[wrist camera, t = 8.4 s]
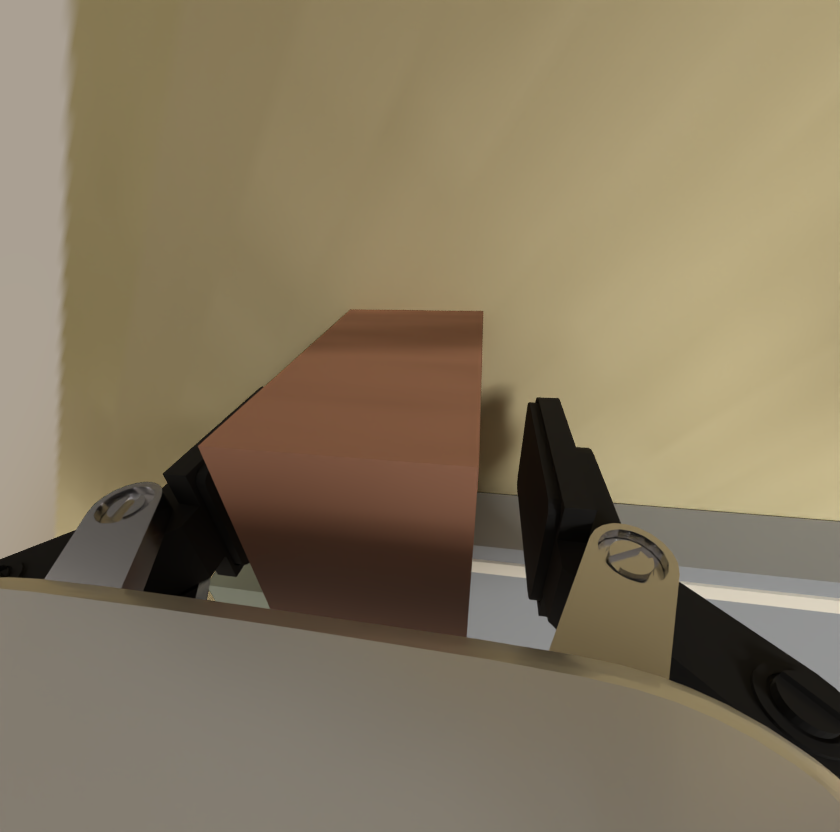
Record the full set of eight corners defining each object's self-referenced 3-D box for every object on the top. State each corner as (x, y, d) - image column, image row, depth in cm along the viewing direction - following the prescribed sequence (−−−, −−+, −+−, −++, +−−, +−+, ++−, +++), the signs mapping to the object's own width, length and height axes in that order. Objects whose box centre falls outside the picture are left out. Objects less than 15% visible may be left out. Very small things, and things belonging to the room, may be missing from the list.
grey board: (282, 476, 15) (206, 584, 11) (897, 526, 12) (1116, 707, 8) (318, 588, 20) (272, 697, 15) (779, 648, 16) (881, 807, 12)
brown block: (351, 309, 11) (197, 446, 5) (483, 311, 10) (478, 466, 5) (377, 507, 16) (310, 700, 10) (470, 516, 15) (460, 727, 9)
